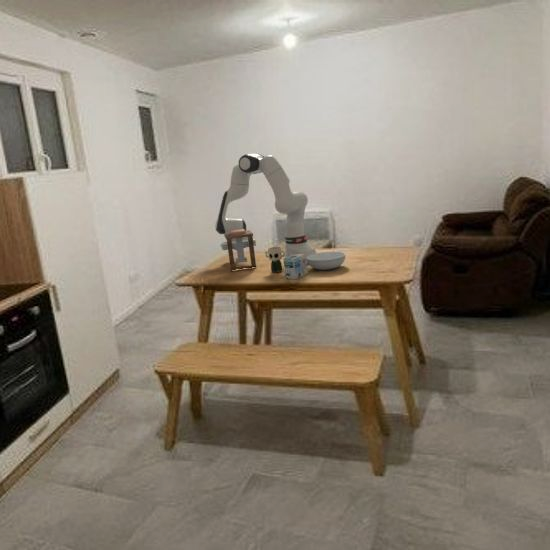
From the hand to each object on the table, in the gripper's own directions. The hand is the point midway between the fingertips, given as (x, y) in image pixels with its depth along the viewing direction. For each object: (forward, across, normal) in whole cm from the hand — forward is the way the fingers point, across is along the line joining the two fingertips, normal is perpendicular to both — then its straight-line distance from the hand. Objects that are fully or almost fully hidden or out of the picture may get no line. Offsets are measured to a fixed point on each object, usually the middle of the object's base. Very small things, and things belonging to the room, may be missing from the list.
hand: (239, 246), depth 280 cm
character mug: (+21, +16, +13) cm, 30 cm away
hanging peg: (-1, 0, +9) cm, 9 cm away
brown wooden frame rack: (-1, 0, +12) cm, 13 cm away
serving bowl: (+30, +42, +13) cm, 53 cm away
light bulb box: (+38, +23, +13) cm, 46 cm away
